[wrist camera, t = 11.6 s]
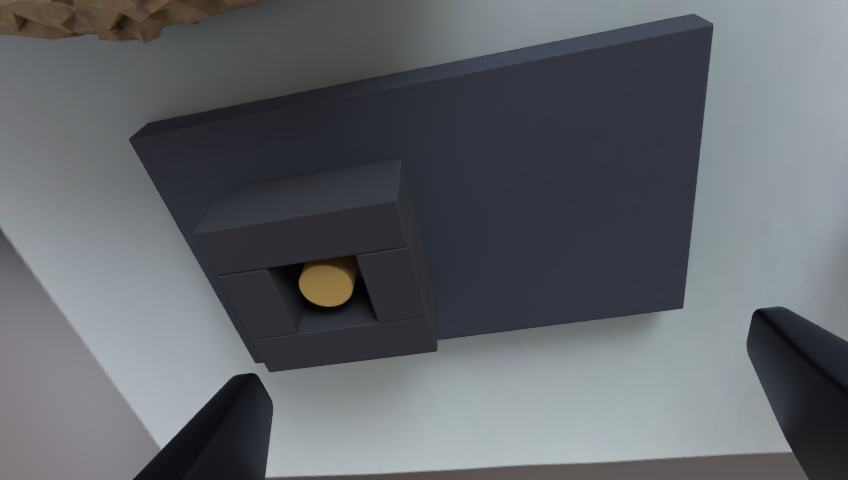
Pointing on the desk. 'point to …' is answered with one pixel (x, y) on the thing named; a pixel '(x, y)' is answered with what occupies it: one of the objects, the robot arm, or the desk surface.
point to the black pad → (316, 240)
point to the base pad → (488, 173)
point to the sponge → (106, 17)
